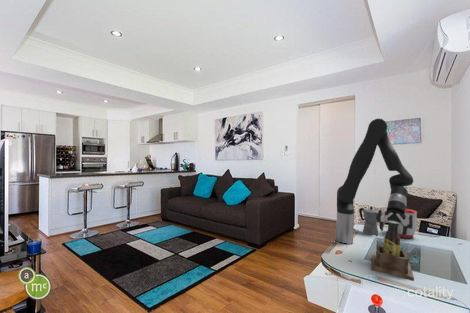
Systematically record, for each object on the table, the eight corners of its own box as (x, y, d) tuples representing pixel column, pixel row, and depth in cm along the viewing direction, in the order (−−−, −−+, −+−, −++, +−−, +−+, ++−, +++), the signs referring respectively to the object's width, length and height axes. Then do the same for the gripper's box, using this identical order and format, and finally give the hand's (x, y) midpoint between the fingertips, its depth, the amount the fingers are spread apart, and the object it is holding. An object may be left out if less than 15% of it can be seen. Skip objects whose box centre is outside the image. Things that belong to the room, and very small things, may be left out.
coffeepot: (384, 235, 150) (385, 208, 150) (375, 237, 146) (376, 209, 146) (363, 228, 164) (363, 203, 164) (354, 230, 160) (354, 204, 160)
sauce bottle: (379, 261, 109) (380, 219, 109) (392, 261, 109) (393, 219, 109) (390, 268, 102) (391, 223, 102) (403, 268, 102) (404, 223, 103)
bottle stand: (371, 269, 103) (372, 253, 103) (372, 257, 116) (372, 242, 116) (413, 280, 95) (414, 262, 95) (409, 265, 108) (409, 249, 108)
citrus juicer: (404, 231, 160) (405, 203, 160) (422, 240, 143) (423, 208, 143) (381, 230, 162) (382, 201, 162) (396, 238, 144) (396, 207, 144)
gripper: (379, 197, 119) (373, 224, 110) (414, 202, 109) (410, 231, 101) (381, 206, 123) (375, 232, 114) (414, 211, 113) (411, 240, 105)
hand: (392, 232), depth 108 cm, fingers open, 8 cm apart
